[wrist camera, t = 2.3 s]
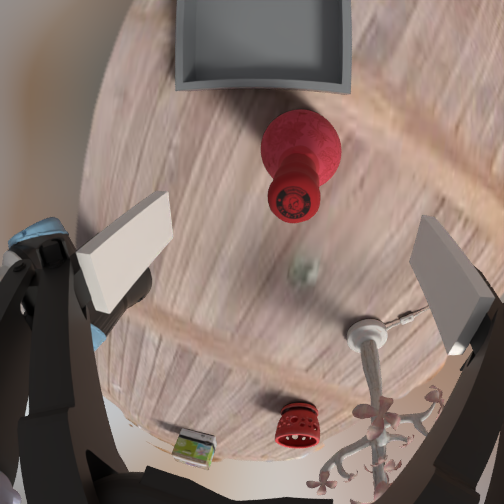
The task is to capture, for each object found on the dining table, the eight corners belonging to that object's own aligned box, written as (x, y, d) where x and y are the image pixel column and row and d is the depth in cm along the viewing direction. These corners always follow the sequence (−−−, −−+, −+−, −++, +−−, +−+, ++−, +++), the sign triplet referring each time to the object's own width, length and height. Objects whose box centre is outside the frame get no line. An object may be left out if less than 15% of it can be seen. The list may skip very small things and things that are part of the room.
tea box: (215, 435, 102) (206, 464, 89) (217, 443, 107) (209, 470, 94) (181, 427, 104) (170, 455, 91) (185, 435, 109) (175, 462, 96)
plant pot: (272, 411, 82) (266, 443, 72) (292, 395, 76) (288, 430, 65) (307, 421, 83) (304, 452, 73) (329, 406, 76) (328, 440, 66)
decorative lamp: (420, 265, 49) (490, 464, 15) (438, 338, 57) (473, 490, 23) (296, 316, 60) (268, 508, 26) (337, 375, 68) (330, 523, 34)
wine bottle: (266, 160, 45) (205, 253, 20) (277, 102, 40) (224, 105, 15) (325, 175, 45) (345, 287, 19) (340, 117, 39) (396, 147, 14)
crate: (190, 91, 41) (175, 91, 36) (193, -31, 29) (180, -43, 24) (345, 94, 37) (350, 93, 32) (343, -35, 25) (346, -50, 20)
